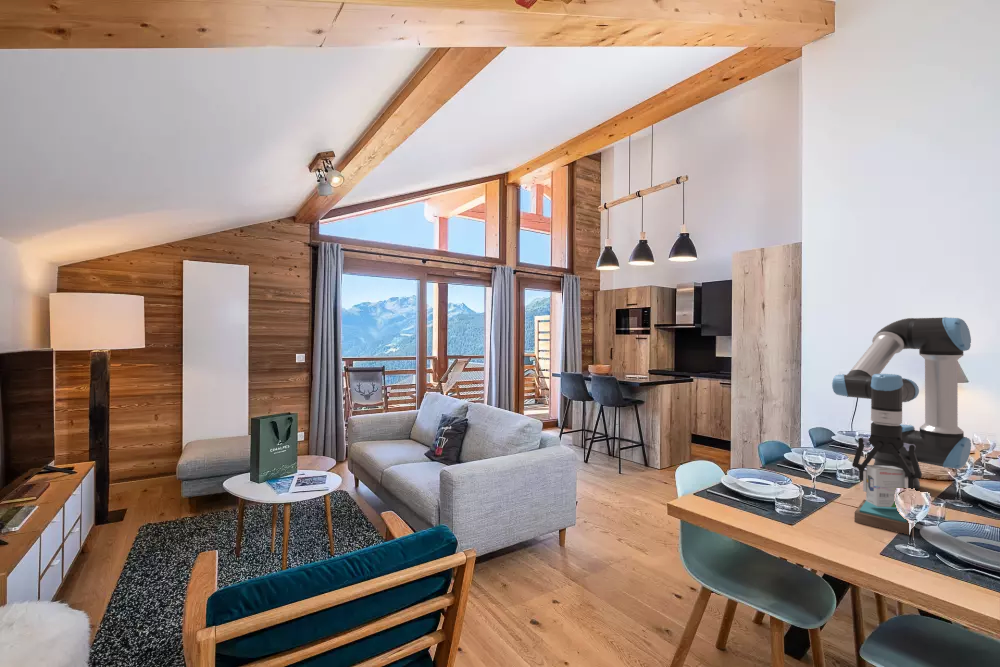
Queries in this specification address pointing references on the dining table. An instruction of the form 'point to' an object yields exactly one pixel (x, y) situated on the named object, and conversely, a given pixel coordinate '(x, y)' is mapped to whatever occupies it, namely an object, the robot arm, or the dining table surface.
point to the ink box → (883, 484)
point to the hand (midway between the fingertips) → (885, 494)
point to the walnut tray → (881, 517)
